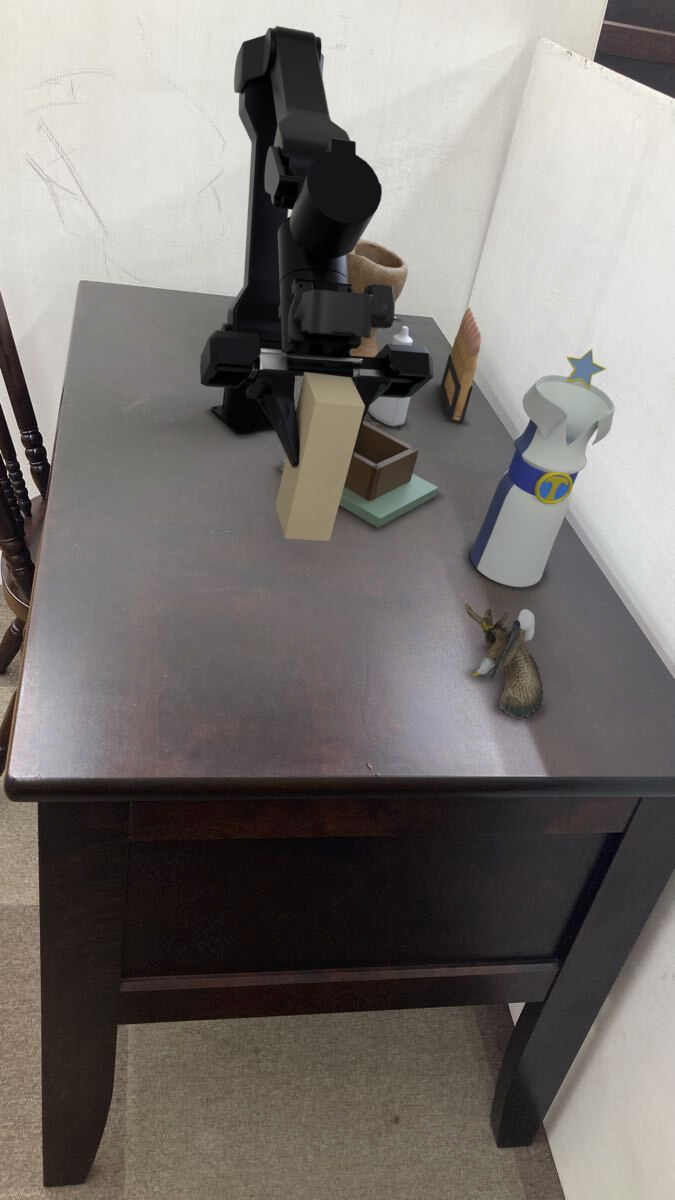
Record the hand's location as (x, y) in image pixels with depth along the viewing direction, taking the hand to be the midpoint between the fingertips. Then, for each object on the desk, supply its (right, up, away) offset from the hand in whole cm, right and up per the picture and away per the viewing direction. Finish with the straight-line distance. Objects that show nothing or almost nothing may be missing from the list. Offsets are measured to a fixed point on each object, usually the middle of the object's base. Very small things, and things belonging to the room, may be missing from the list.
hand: (321, 467), depth 73 cm
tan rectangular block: (-2, -4, +5) cm, 7 cm away
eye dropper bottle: (+7, +12, +41) cm, 44 cm away
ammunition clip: (+17, +15, +48) cm, 53 cm away
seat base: (+4, +2, +27) cm, 27 cm away
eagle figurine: (+15, -18, +4) cm, 24 cm away
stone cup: (+3, +26, +58) cm, 64 cm away
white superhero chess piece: (+19, -7, +19) cm, 28 cm away
